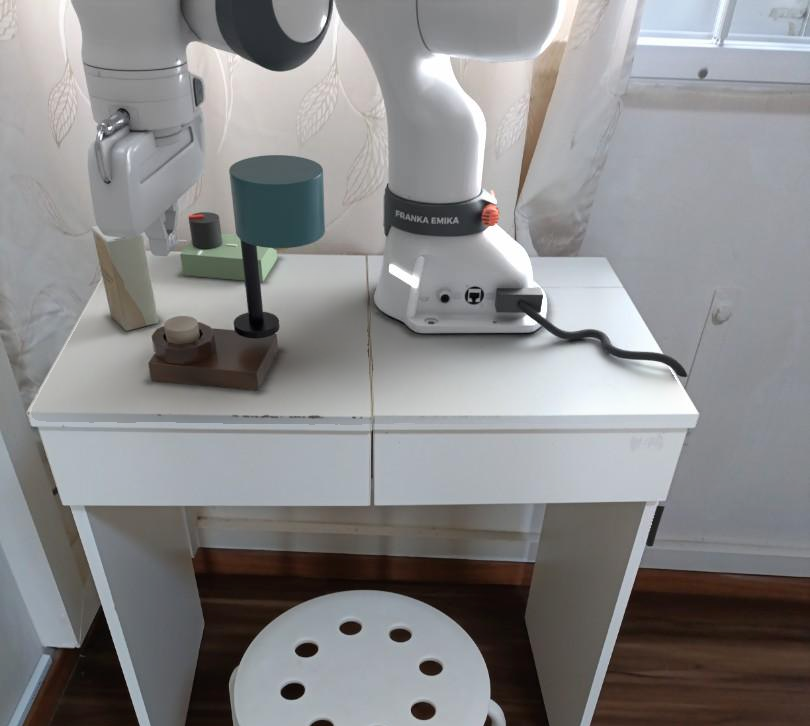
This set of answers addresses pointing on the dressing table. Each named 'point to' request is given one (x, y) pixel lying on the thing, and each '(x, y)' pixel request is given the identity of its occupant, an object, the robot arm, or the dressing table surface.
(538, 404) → the dressing table surface
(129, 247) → the box
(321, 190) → the lamp
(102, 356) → the dressing table surface
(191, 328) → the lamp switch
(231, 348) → the lamp base
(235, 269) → the dimmer panel
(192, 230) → the dimmer knob
